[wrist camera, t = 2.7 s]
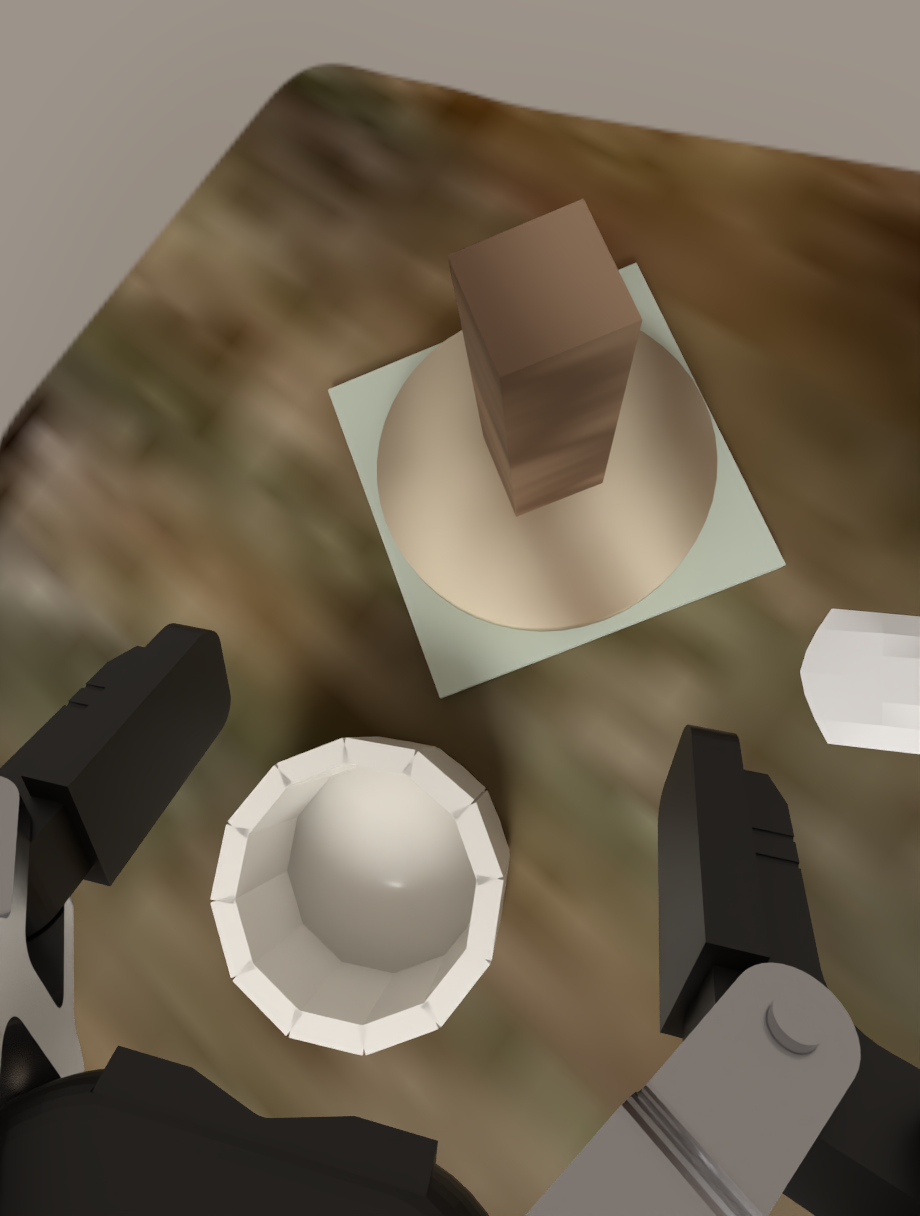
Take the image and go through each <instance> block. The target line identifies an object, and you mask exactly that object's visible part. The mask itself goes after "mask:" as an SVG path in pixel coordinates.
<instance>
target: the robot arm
mask: <svg viewBox="0 0 920 1216" xmlns="http://www.w3.org/2000/svg"><path fill="white" fill-rule="evenodd" d="M230 701H231V698H230V690H229V685H228V680H227V674H226V669H225V664H224V659H223V653H222V648H221V643H220V639H219V636H218V635H217V633H216V632H214V631H212V630H206V629H201V628H196V627H191V626H186V625H181V624H176V623H172V624H169V625H167V626H165V627H164V628H163V629H162V630H161V631H160V632H159V633H158V634H157V635H156V636H155V637H154V638H153V639H152V640H151V642H150V643H149V644H148V645H147V646H146V647H140V646H136V647H134V648H132V649H131V650H129V651H127V652H125V653H123V654H122V655H120V656H118V657H116V658H114V659H113V660H111V661H109V662H107V663H106V664H105V665H104V666H103V667H102V668H101V669H100V670H99V671H98V672H97V673H96V674H95V675H94V676H93V677H92V678H91V679H90V680H89V681H88V682H87V683H86V687H85V688H81V689H80V690H79V691H78V692H77V693H76V694H75V695H74V696H73V697H72V698H71V699H70V700H69V704H68V705H67V706H65V705H64V706H63V707H62V708H61V709H60V710H59V711H58V712H57V713H56V714H55V715H54V716H53V717H52V718H51V719H50V720H49V721H48V722H47V723H46V724H45V725H44V726H43V727H42V728H41V729H40V730H39V731H38V732H37V733H36V734H35V735H34V736H33V737H32V738H31V739H29V740H28V741H27V742H26V743H25V744H24V745H23V746H22V747H21V748H20V749H19V750H18V751H17V752H16V753H15V754H14V755H13V756H12V757H11V758H10V759H9V760H8V761H7V762H6V763H5V764H4V765H3V766H2V767H1V768H0V1216H489V1215H488V1213H487V1212H486V1211H485V1210H484V1208H483V1207H482V1206H481V1205H480V1203H479V1202H478V1201H477V1200H476V1199H475V1197H474V1196H473V1195H472V1194H471V1192H469V1191H468V1190H467V1189H466V1188H465V1187H464V1186H463V1185H462V1184H461V1183H460V1182H459V1181H458V1180H457V1179H456V1178H455V1177H454V1176H452V1175H451V1174H450V1173H448V1172H447V1171H445V1170H444V1169H443V1168H441V1167H440V1166H438V1165H437V1164H436V1154H437V1144H438V1141H436V1140H433V1139H430V1138H426V1137H423V1136H420V1135H416V1134H413V1133H409V1132H406V1131H403V1130H399V1129H396V1128H393V1127H389V1126H386V1125H383V1124H379V1123H376V1122H373V1121H369V1120H366V1119H362V1118H359V1117H356V1116H343V1117H301V1118H264V1117H261V1116H258V1115H257V1114H255V1113H253V1112H252V1111H251V1110H249V1109H248V1108H247V1107H245V1106H244V1105H242V1104H241V1103H240V1102H238V1101H237V1100H236V1099H234V1098H233V1097H232V1096H230V1095H229V1094H227V1093H226V1092H225V1091H223V1090H222V1089H221V1088H219V1087H218V1086H217V1085H215V1084H214V1083H212V1082H211V1081H210V1080H208V1079H207V1078H206V1077H204V1076H203V1075H202V1074H200V1073H199V1072H197V1071H196V1070H195V1069H193V1068H191V1067H188V1066H185V1065H181V1064H178V1063H175V1062H171V1061H168V1060H165V1059H161V1058H158V1057H155V1056H151V1055H148V1054H145V1053H141V1052H138V1051H134V1050H131V1049H128V1048H124V1047H121V1046H118V1047H117V1048H116V1050H115V1052H114V1054H113V1055H112V1057H111V1059H110V1060H109V1062H108V1064H107V1066H106V1067H105V1069H98V1070H92V1071H86V1072H84V1064H83V1058H82V1052H81V1048H80V1044H79V1040H78V1037H77V1033H76V1027H75V1020H74V931H73V901H72V899H71V895H72V893H73V892H74V891H75V889H76V888H77V887H78V885H79V884H80V883H81V881H82V880H83V879H84V880H88V881H92V882H95V883H99V884H103V885H107V886H111V885H112V883H113V882H114V880H115V879H116V877H117V876H118V875H119V873H120V872H121V870H122V869H123V868H124V866H125V865H126V863H127V862H128V861H129V859H130V858H131V856H132V855H133V854H134V852H135V851H136V849H137V848H138V847H139V845H140V844H141V842H142V841H143V839H144V838H145V837H146V835H147V834H148V832H149V831H150V830H151V828H152V827H153V825H154V824H155V823H156V821H157V820H158V818H159V817H160V816H161V814H162V813H163V811H164V810H165V809H166V807H167V806H168V804H169V803H170V801H171V800H172V799H173V797H174V796H175V794H176V793H177V792H178V790H179V789H180V787H181V786H182V785H183V783H184V782H185V780H186V779H187V778H188V776H189V775H190V773H191V772H192V770H193V769H194V768H195V766H196V765H197V763H198V762H199V761H200V759H201V758H202V756H203V755H204V754H205V752H206V751H207V749H208V748H209V747H210V745H211V744H212V742H213V741H214V740H215V738H216V737H217V735H218V734H219V732H220V731H221V729H222V728H223V726H224V724H225V722H226V720H227V717H228V713H229V709H230ZM793 837H794V834H793V829H792V824H791V819H790V814H789V809H788V804H787V803H786V801H785V800H784V798H783V797H782V795H781V794H780V792H779V791H778V789H777V788H776V786H775V785H774V783H773V782H772V780H771V779H770V777H769V776H768V775H767V774H762V773H757V772H752V771H747V770H743V763H742V756H741V749H740V743H739V739H738V736H737V735H736V734H734V733H729V732H724V731H719V730H714V729H709V728H703V727H698V726H693V725H686V727H685V728H684V730H683V733H682V735H681V738H680V741H679V744H678V747H677V750H676V753H675V756H674V758H673V761H672V764H671V767H670V770H669V773H668V776H667V779H666V781H665V784H664V787H663V791H662V795H661V800H660V807H659V815H658V883H659V977H660V1033H664V1034H668V1035H672V1036H676V1037H679V1038H683V1043H682V1044H681V1045H680V1046H679V1047H678V1048H677V1050H676V1051H675V1052H674V1053H673V1054H672V1055H671V1057H670V1058H669V1059H668V1060H667V1061H666V1062H665V1064H664V1065H663V1066H662V1067H661V1068H660V1069H659V1071H658V1072H657V1073H656V1074H655V1075H654V1076H653V1078H652V1079H651V1080H650V1081H649V1082H648V1083H647V1084H646V1085H645V1086H644V1087H643V1088H642V1089H641V1090H640V1091H639V1092H635V1093H634V1094H632V1095H631V1096H630V1097H629V1098H628V1099H627V1100H626V1101H625V1102H624V1103H623V1104H622V1105H621V1106H620V1107H619V1108H618V1109H617V1110H616V1112H615V1113H614V1114H613V1115H612V1116H611V1117H610V1118H609V1119H608V1121H607V1122H606V1123H605V1124H604V1125H603V1126H602V1128H601V1129H600V1130H599V1131H598V1132H597V1133H596V1135H595V1136H594V1137H593V1138H592V1139H591V1140H590V1141H589V1143H588V1144H587V1145H586V1146H585V1147H584V1148H583V1150H582V1151H581V1152H580V1153H579V1154H578V1155H577V1156H576V1158H575V1159H574V1160H573V1161H572V1162H571V1163H570V1165H569V1166H568V1167H567V1168H566V1169H565V1170H564V1171H563V1173H562V1174H561V1175H560V1176H559V1177H558V1178H557V1180H556V1181H555V1182H554V1183H553V1184H552V1185H551V1187H550V1188H549V1189H548V1190H547V1191H546V1192H545V1193H544V1195H543V1196H542V1197H541V1198H540V1199H539V1200H538V1202H537V1203H536V1204H535V1205H534V1206H533V1207H532V1208H531V1210H530V1211H529V1212H528V1213H527V1214H526V1215H525V1216H768V1215H769V1213H770V1211H771V1210H772V1208H773V1207H774V1205H775V1203H776V1202H777V1200H778V1199H779V1197H780V1195H781V1194H782V1193H783V1194H784V1195H786V1196H787V1197H789V1198H790V1199H792V1200H793V1201H795V1202H796V1203H797V1204H799V1205H800V1206H802V1207H803V1208H805V1209H806V1210H808V1211H809V1212H811V1213H812V1214H814V1215H815V1216H920V1069H918V1068H917V1067H915V1066H913V1065H911V1064H910V1063H908V1062H906V1061H904V1060H903V1059H901V1058H899V1057H897V1056H895V1055H894V1054H892V1053H890V1052H888V1051H887V1050H885V1049H884V1048H882V1047H881V1046H879V1045H877V1044H876V1043H875V1042H873V1041H872V1040H871V1039H869V1038H868V1037H867V1036H866V1035H864V1034H863V1033H862V1032H861V1031H860V1030H859V1029H858V1028H857V1027H856V1026H855V1025H854V1024H853V1022H852V1020H851V1018H850V1016H849V1014H848V1013H847V1011H846V1010H845V1008H844V1007H843V1005H842V1004H841V1003H840V1001H839V1000H838V999H837V998H836V997H835V996H834V994H833V993H832V992H831V991H830V990H828V988H827V985H826V983H825V981H824V978H823V975H822V971H821V968H820V963H819V958H818V953H817V948H816V943H815V938H814V933H813V928H812V923H811V918H810V913H809V908H808V903H807V898H806V893H805V888H804V883H803V879H802V874H801V869H799V868H798V864H799V859H798V854H797V849H796V844H795V842H793Z"/></svg>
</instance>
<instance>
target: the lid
mask: <svg viewBox="0 0 920 1216" xmlns="http://www.w3.org/2000/svg"><path fill="white" fill-rule="evenodd" d="M447 256H448V261H449V266H450V271H451V276H452V281H453V286H454V291H455V296H456V301H457V306H458V311H459V316H460V321H461V326H462V330H461V331H459V332H458V333H456V334H455V335H453V336H452V337H450V338H448V339H447V340H445V341H444V342H443V343H442V344H440V345H439V346H438V347H437V348H436V349H434V350H433V351H432V352H431V353H429V354H428V355H427V357H426V358H425V359H424V360H423V361H422V362H421V363H420V364H419V365H418V366H417V367H416V368H415V369H414V370H413V372H412V373H411V374H410V376H409V377H408V379H407V380H406V381H405V383H404V384H403V385H402V387H401V389H400V390H399V392H398V394H397V396H396V398H395V399H394V401H393V403H392V405H391V408H390V410H389V412H388V415H387V417H386V420H385V422H384V426H383V430H382V434H381V438H380V441H379V449H378V457H377V486H378V492H379V499H380V504H381V508H382V511H383V515H384V518H385V522H386V524H387V526H388V529H389V531H390V533H391V535H392V538H393V540H394V542H395V543H396V545H397V547H398V548H399V550H400V551H401V553H402V555H403V556H404V558H405V559H406V561H407V562H408V563H409V564H410V566H411V567H412V568H413V569H414V571H415V572H416V573H417V574H418V575H419V577H420V578H421V579H422V580H423V581H424V583H426V584H427V585H428V586H429V587H430V588H431V589H432V590H433V591H434V592H435V593H437V594H438V595H439V596H440V597H441V598H443V599H444V600H446V601H447V602H449V603H450V604H451V605H453V606H454V607H456V608H457V609H459V610H461V611H463V612H465V613H467V614H469V615H471V616H473V617H475V618H477V619H480V620H483V621H486V622H488V623H491V624H494V625H497V626H502V627H507V628H511V629H516V630H525V631H538V632H544V631H563V630H568V629H574V628H580V627H585V626H588V625H591V624H594V623H598V622H601V621H604V620H607V619H609V618H611V617H613V616H615V615H617V614H620V613H622V612H624V611H626V610H628V609H629V608H631V607H632V606H634V605H635V604H637V603H639V602H640V601H642V600H643V599H645V598H646V597H647V596H648V595H650V594H651V593H652V592H653V591H654V590H656V589H657V588H658V587H659V586H660V585H662V583H663V582H664V581H665V580H666V579H667V578H668V577H669V576H670V575H671V574H672V573H673V571H674V570H675V569H676V568H677V567H678V566H679V564H680V563H681V562H682V561H683V559H684V558H685V557H686V555H687V554H688V552H689V551H690V549H691V548H692V546H693V545H694V543H695V542H696V540H697V538H698V536H699V534H700V532H701V530H702V528H703V526H704V524H705V522H706V519H707V516H708V513H709V510H710V507H711V504H712V502H713V497H714V491H715V486H716V480H717V459H718V457H717V448H716V438H715V433H714V429H713V425H712V421H711V417H710V414H709V412H708V409H707V407H706V404H705V402H704V400H703V397H702V395H701V393H700V392H699V390H698V388H697V386H696V385H695V383H694V381H693V380H692V378H691V377H690V375H689V374H688V373H687V372H686V370H685V369H684V368H683V366H682V365H681V364H680V363H679V361H678V360H677V359H676V358H675V357H674V356H673V355H672V354H670V353H669V352H668V351H667V350H666V349H665V348H664V347H663V346H662V345H661V344H659V343H658V342H657V341H655V340H654V339H653V338H651V337H650V336H648V335H647V334H646V333H644V332H642V331H640V328H641V323H642V318H641V316H640V314H639V312H638V310H637V307H636V305H635V303H634V301H633V299H632V297H631V295H630V293H629V291H628V289H627V287H626V285H625V283H624V281H623V279H622V277H621V275H620V273H619V271H618V268H617V266H616V264H615V262H614V260H613V258H612V256H611V254H610V252H609V250H608V248H607V246H606V244H605V242H604V240H603V238H602V236H601V234H600V231H599V229H598V227H597V225H596V223H595V221H594V219H593V217H592V215H591V213H590V211H589V209H588V207H587V205H586V203H585V201H584V199H581V200H579V201H576V202H574V203H572V204H569V205H567V206H564V207H562V208H560V209H557V210H555V211H552V212H550V213H548V214H545V215H543V216H540V217H538V218H536V219H533V220H531V221H528V222H526V223H524V224H521V225H519V226H516V227H514V228H511V229H509V230H507V231H504V232H502V233H499V234H497V235H495V236H492V237H490V238H487V239H485V240H483V241H480V242H478V243H475V244H473V245H471V246H468V247H466V248H463V249H461V250H459V251H456V252H454V253H451V254H449V255H447Z"/></svg>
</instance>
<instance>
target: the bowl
mask: <svg viewBox="0 0 920 1216" xmlns="http://www.w3.org/2000/svg"><path fill="white" fill-rule="evenodd" d="M485 788H486V787H484V786H483V785H482V784H481V783H480V782H479V781H477V780H476V779H475V777H474V776H473V775H472V774H471V773H469V772H468V771H467V770H466V769H465V768H464V767H463V766H462V765H460V764H459V763H458V762H456V761H455V760H454V759H452V758H451V757H449V756H448V755H447V754H446V753H445V752H443V751H442V750H441V749H440V748H436V746H430V745H425V744H419V743H415V742H411V741H402V740H396V739H390V738H385V737H379V736H376V737H346V738H341V739H338V740H335V741H333V742H330V743H328V744H325V745H322V746H320V747H317V748H315V749H312V750H310V751H307V752H304V753H302V754H299V755H297V756H294V757H291V758H289V759H286V760H284V761H281V762H278V763H277V765H274V766H273V767H272V768H271V769H270V771H269V772H268V773H267V774H266V776H265V777H264V778H263V779H262V780H261V782H260V783H259V784H258V785H257V786H256V788H255V789H254V790H253V791H252V793H251V794H250V795H249V796H248V797H247V799H246V800H245V801H244V802H243V803H242V805H241V806H240V807H239V808H238V810H237V811H236V812H235V813H234V814H233V816H232V817H231V818H230V819H229V820H228V822H229V823H230V824H227V825H226V828H225V832H224V837H223V842H222V847H221V851H220V856H219V861H218V865H217V870H216V875H215V880H214V884H213V889H212V894H211V900H215V901H213V902H211V907H212V910H213V914H214V918H215V921H216V925H217V929H218V932H219V936H220V940H221V943H222V947H223V951H224V954H225V958H226V962H227V965H228V969H229V973H230V977H234V976H236V977H235V979H234V980H233V982H234V983H235V984H236V985H237V986H238V987H239V988H240V989H241V990H242V991H243V992H244V993H245V994H246V995H247V996H248V997H249V998H250V999H251V1000H252V1001H253V1002H254V1003H255V1004H256V1005H257V1006H258V1008H259V1009H260V1010H261V1011H262V1012H263V1013H264V1014H265V1015H266V1016H267V1017H268V1018H269V1019H270V1020H271V1021H272V1022H273V1023H274V1024H275V1025H276V1026H277V1027H278V1028H279V1029H280V1030H281V1031H282V1032H283V1033H284V1034H285V1035H287V1034H288V1033H289V1032H290V1036H289V1038H293V1039H297V1040H301V1041H305V1042H309V1043H313V1044H317V1045H321V1046H325V1047H330V1048H334V1049H338V1050H342V1051H346V1052H350V1053H354V1054H358V1055H363V1054H364V1052H365V1054H366V1055H368V1054H371V1053H374V1052H377V1051H379V1050H382V1049H385V1048H388V1047H390V1046H393V1045H396V1044H399V1043H401V1042H404V1041H407V1040H410V1039H413V1038H415V1037H418V1036H421V1035H424V1034H426V1033H429V1032H432V1031H435V1030H437V1029H438V1028H439V1026H441V1027H442V1025H443V1024H444V1023H445V1021H446V1020H447V1019H448V1018H449V1016H450V1015H451V1014H452V1012H453V1011H454V1010H455V1009H456V1007H457V1006H458V1005H459V1003H460V1002H461V1001H462V1000H463V998H464V997H465V996H466V994H467V993H468V992H469V991H470V989H471V988H472V987H473V985H474V984H475V983H476V982H477V980H478V979H479V978H480V977H481V975H482V974H483V973H484V971H485V970H486V969H487V968H488V966H489V965H490V963H491V961H492V957H493V952H494V948H495V943H496V939H497V934H498V930H499V925H500V921H501V914H502V907H503V901H504V894H505V887H506V881H507V874H508V867H509V860H510V854H509V853H510V850H509V847H508V844H507V842H506V839H505V836H504V832H503V829H502V825H501V822H500V819H499V816H498V814H497V812H496V810H495V807H494V805H493V803H492V801H491V798H490V795H489V793H488V790H487V791H485Z"/></svg>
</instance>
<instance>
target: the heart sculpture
mask: <svg viewBox="0 0 920 1216" xmlns="http://www.w3.org/2000/svg"><path fill="white" fill-rule="evenodd" d="M800 674H801V679H802V684H803V688H804V693H805V696H806V699H807V701H808V704H809V706H810V709H811V711H812V714H813V716H814V719H815V720H816V722H817V724H818V726H819V728H820V730H821V732H822V734H823V736H824V738H825V739H826V741H827V743H828V744H836V745H845V746H853V747H862V748H871V749H879V750H888V751H897V752H905V753H914V754H920V616H909V615H898V614H887V613H876V612H865V611H854V610H843V609H831V610H830V612H829V613H828V615H827V616H826V618H825V619H824V621H823V622H822V623H821V625H820V626H819V628H818V629H817V631H816V633H815V635H814V637H813V639H812V641H811V643H810V645H809V646H808V648H807V650H806V654H805V657H804V660H803V664H802V667H801V670H800Z"/></svg>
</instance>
